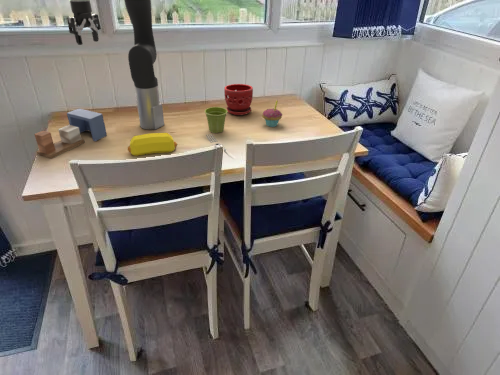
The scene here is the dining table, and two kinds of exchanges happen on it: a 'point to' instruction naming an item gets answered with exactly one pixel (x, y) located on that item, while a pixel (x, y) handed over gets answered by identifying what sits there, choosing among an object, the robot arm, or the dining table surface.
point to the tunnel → (88, 122)
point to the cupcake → (272, 116)
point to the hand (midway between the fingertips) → (88, 42)
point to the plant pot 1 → (216, 118)
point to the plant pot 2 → (238, 98)
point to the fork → (214, 140)
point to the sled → (68, 141)
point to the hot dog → (151, 144)
